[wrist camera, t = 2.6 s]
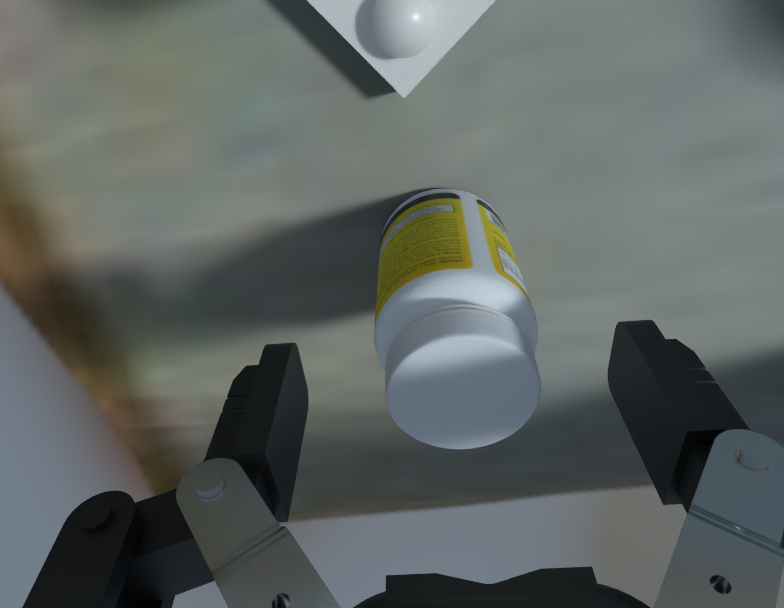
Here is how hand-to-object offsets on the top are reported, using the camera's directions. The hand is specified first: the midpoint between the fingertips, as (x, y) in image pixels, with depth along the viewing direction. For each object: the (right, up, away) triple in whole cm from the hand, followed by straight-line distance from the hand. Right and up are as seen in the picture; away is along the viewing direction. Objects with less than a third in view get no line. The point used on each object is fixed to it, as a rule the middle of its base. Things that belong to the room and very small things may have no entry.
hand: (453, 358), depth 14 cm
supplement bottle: (0, +4, +7) cm, 8 cm away
